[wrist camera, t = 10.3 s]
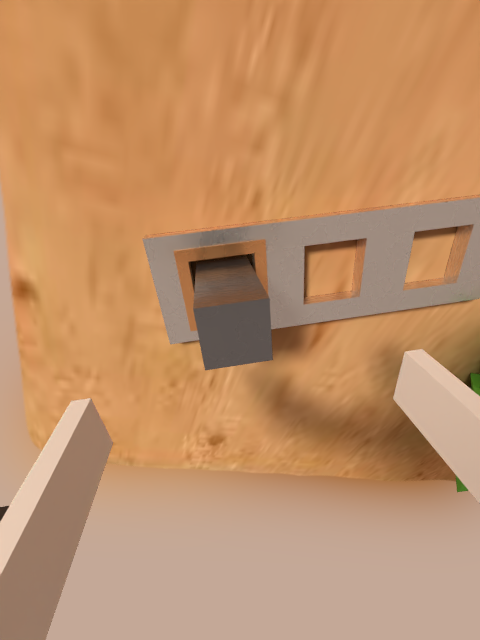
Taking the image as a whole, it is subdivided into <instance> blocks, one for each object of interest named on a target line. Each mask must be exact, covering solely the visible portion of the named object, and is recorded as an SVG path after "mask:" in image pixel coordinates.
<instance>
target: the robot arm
mask: <svg viewBox="0 0 480 640" xmlns="http://www.w3.org/2000/svg"><path fill="white" fill-rule="evenodd" d="M393 399H394V400H395V402H396V403H397V404H398V405H399V407H400V408H401V409H402V410H403V411H404V413H405V414H406V415H407V416H408V417H409V419H410V420H411V421H412V422H413V423H414V425H415V426H416V427H417V428H418V430H419V431H420V432H421V433H422V434H423V436H424V437H425V438H426V439H427V440H428V442H429V443H430V444H431V445H432V446H433V448H434V449H435V450H436V451H437V453H438V454H439V455H440V456H441V457H442V459H443V460H444V461H445V462H446V463H447V465H448V466H449V467H450V468H451V469H452V471H453V472H454V473H455V474H456V476H457V477H458V478H459V479H460V480H461V482H462V483H463V484H464V485H465V486H466V488H467V489H468V490H469V491H470V492H471V494H472V495H473V496H474V497H475V499H476V500H477V501H478V502H479V503H480V396H479V395H478V394H476V393H475V392H474V391H473V390H471V389H470V388H469V387H468V386H467V385H465V384H464V383H463V382H462V381H460V380H459V379H458V378H457V377H456V376H454V375H453V374H452V373H451V372H449V371H448V370H447V369H446V368H445V367H443V366H442V365H441V364H440V363H438V362H437V361H436V360H435V359H434V358H432V357H431V356H430V355H429V354H427V353H426V352H425V351H424V350H423V349H419V350H413V351H406V352H405V353H404V357H403V361H402V365H401V369H400V373H399V377H398V381H397V385H396V389H395V393H394V397H393ZM112 444H113V442H112V440H111V438H110V436H109V434H108V432H107V430H106V428H105V426H104V424H103V422H102V420H101V418H100V416H99V414H98V412H97V410H96V408H95V406H94V404H93V402H92V400H91V398H89V399H82V400H75V401H71V402H70V404H69V406H68V408H67V409H66V411H65V413H64V414H63V416H62V418H61V419H60V421H59V423H58V425H57V426H56V428H55V430H54V431H53V433H52V435H51V436H50V438H49V440H48V442H47V443H46V445H45V447H44V448H43V450H42V452H41V453H40V455H39V457H38V459H37V461H36V462H35V464H34V465H33V467H32V469H31V470H30V472H29V474H28V476H27V477H26V479H25V481H24V483H23V484H22V486H21V487H20V489H19V491H18V493H17V494H16V496H15V498H14V499H13V501H12V503H11V505H10V506H5V507H0V640H45V639H46V636H47V634H48V631H49V627H50V625H51V622H52V619H53V616H54V613H55V610H56V607H57V604H58V602H59V599H60V596H61V593H62V590H63V587H64V584H65V581H66V578H67V575H68V572H69V569H70V567H71V564H72V561H73V558H74V555H75V552H76V549H77V546H78V543H79V540H80V537H81V535H82V532H83V529H84V526H85V523H86V520H87V517H88V514H89V511H90V508H91V506H92V502H93V500H94V497H95V494H96V491H97V488H98V485H99V482H100V479H101V476H102V474H103V471H104V468H105V465H106V462H107V459H108V456H109V453H110V450H111V447H112Z"/></svg>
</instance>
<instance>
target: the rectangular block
mask: <svg viewBox="0 0 480 640" xmlns="http://www.w3.org/2000/svg"><path fill="white" fill-rule="evenodd" d="M193 311H194V316H195V321H196V326H197V331H198V336H199V341H200V346H201V351H202V356H203V361H204V366H205V370H210V369H217V368H223V367H230V366H236V365H243V364H249V363H256V362H262V361H269V360H273V357H272V337H271V316H270V298H269V296H268V294H267V293H266V291H265V289H264V287H263V285H262V284H261V282H260V280H259V278H258V276H257V275H256V273H255V271H254V269H253V267H252V266H251V264H250V262H249V260H248V258H247V256H246V255H244V256H237V257H229V258H221V259H213V260H206V261H198V262H197V263H196V276H195V290H194V303H193Z"/></svg>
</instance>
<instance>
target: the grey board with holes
mask: <svg viewBox="0 0 480 640" xmlns="http://www.w3.org/2000/svg"><path fill="white" fill-rule="evenodd" d="M456 226H458V228H457V231H456V235H455V239H454V242H453V246H452V250H451V253H450V257H449V261H448V264H447V268H446V271H445V275H444V278H438V279H431V280H424V281H417V282H410V283H404V282H405V277H406V272H407V267H408V263H409V258H410V253H411V248H412V243H413V238H414V233H415V232H417V231H425V230H432V229H440V228H448V227H456ZM355 239H357V246H356V255H355V265H354V274H353V283H352V291H346V292H339V293H332V294H325V295H318V296H311V297H304V246H309V245H316V244H324V243H332V242H340V241H347V240H355ZM143 242H144V246H145V250H146V254H147V258H148V261H149V265H150V269H151V273H152V277H153V280H154V284H155V288H156V292H157V296H158V299H159V303H160V307H161V311H162V315H163V318H164V322H165V326H166V330H167V334H168V337H169V341H170V344H175V343H182V342H189V341H196V340H199V336H198V331H197V326H196V321H195V316H194V311H193V303H194V290H195V285H194V280H193V274H192V269H191V264H190V261H197V260H205V259H213V258H221V257H228V256H236V255H244V254H252V266H253V269H254V271H255V273H256V275H257V276H258V278H259V280H260V282H261V284H262V285H263V287H264V289H265V291H266V293H267V294H268V296H269V298H270V316H271V329H277V328H284V327H291V326H298V325H304V324H311V323H318V322H325V321H331V320H338V319H345V318H352V317H359V316H365V315H372V314H379V313H386V312H393V311H399V310H406V309H413V308H420V307H426V306H433V305H440V304H447V303H454V302H460V301H467V300H474V299H479V298H480V195H472V196H464V197H456V198H447V199H439V200H431V201H423V202H415V203H406V204H398V205H390V206H382V207H374V208H366V209H357V210H349V211H341V212H333V213H325V214H316V215H308V216H300V217H292V218H284V219H276V220H267V221H259V222H251V223H243V224H235V225H226V226H218V227H210V228H202V229H194V230H186V231H177V232H169V233H161V234H153V235H146V236H145V237H144V238H143Z"/></svg>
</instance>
